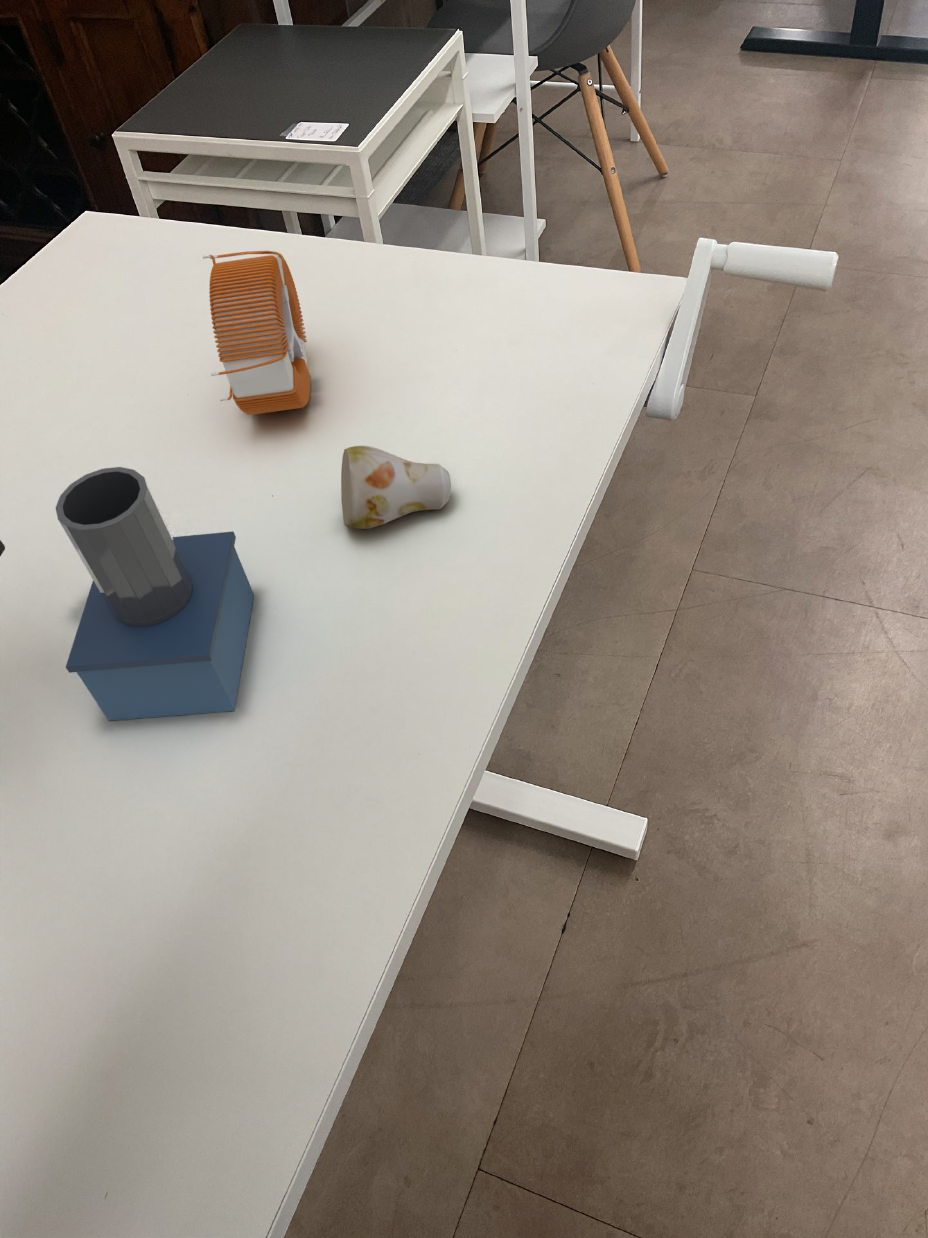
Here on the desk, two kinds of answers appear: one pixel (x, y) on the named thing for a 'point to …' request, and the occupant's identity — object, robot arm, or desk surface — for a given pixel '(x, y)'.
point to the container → (171, 642)
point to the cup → (125, 545)
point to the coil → (259, 332)
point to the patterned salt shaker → (388, 487)
